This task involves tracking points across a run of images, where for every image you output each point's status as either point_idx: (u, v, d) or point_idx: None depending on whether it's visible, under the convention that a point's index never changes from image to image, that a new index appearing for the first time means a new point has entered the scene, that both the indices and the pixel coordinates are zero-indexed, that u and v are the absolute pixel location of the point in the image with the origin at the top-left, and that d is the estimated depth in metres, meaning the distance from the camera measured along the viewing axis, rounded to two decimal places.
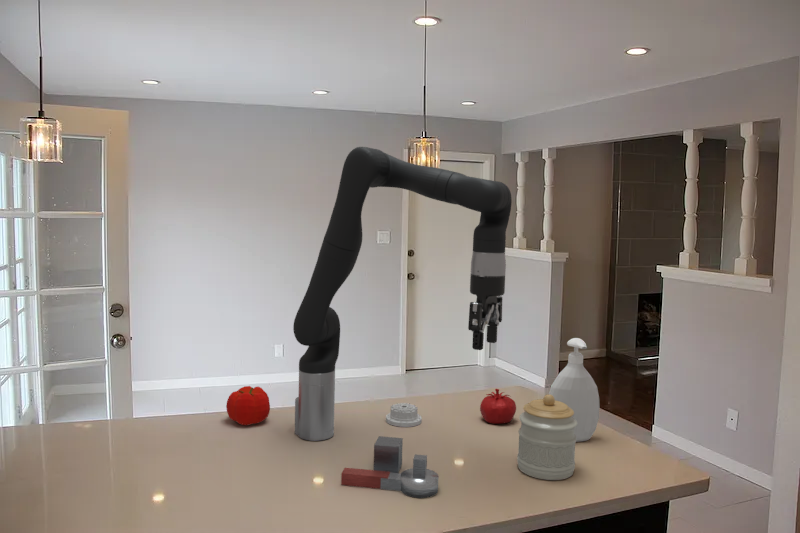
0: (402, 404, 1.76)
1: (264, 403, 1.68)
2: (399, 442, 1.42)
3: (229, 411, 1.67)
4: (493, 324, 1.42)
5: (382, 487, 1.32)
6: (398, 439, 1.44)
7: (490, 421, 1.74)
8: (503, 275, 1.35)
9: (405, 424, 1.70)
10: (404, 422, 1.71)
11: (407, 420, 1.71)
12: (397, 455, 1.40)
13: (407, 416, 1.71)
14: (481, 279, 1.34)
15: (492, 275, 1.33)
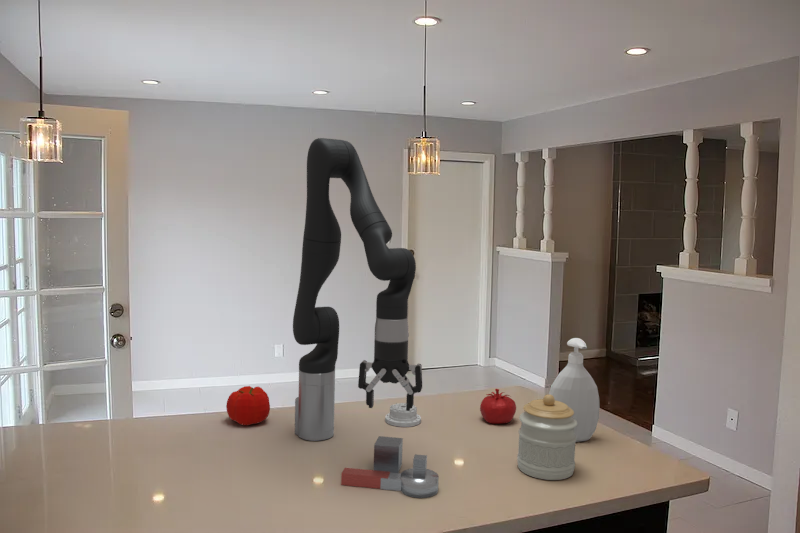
0: (401, 404, 1.76)
1: (264, 403, 1.68)
2: (399, 442, 1.42)
3: (229, 411, 1.67)
4: (372, 388, 1.42)
5: (382, 487, 1.32)
6: (398, 439, 1.44)
7: (490, 421, 1.74)
8: None
9: (404, 424, 1.70)
10: (403, 422, 1.71)
11: (406, 420, 1.71)
12: (397, 455, 1.40)
13: (406, 416, 1.71)
14: (407, 343, 1.40)
15: None
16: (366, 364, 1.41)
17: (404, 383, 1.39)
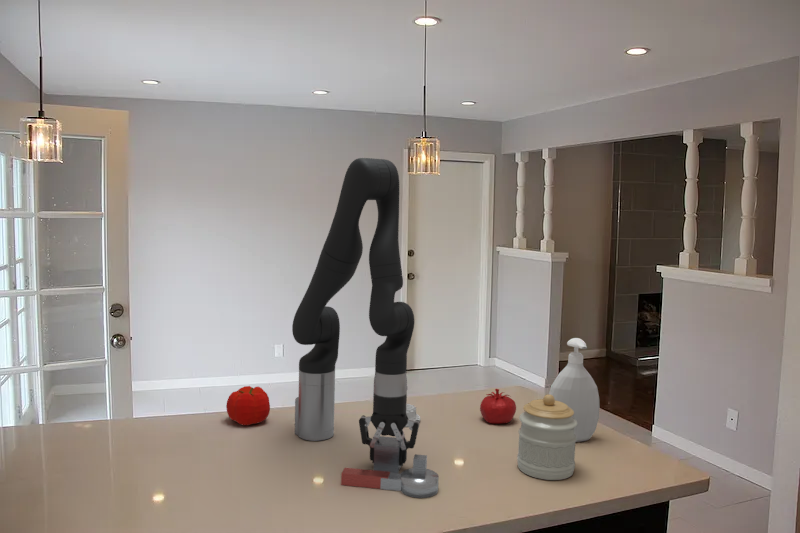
0: None
1: (264, 403, 1.68)
2: None
3: (229, 411, 1.67)
4: None
5: (382, 487, 1.32)
6: None
7: (490, 421, 1.74)
8: None
9: None
10: None
11: None
12: (397, 455, 1.40)
13: None
14: (406, 397, 1.41)
15: None
16: (365, 419, 1.42)
17: (399, 438, 1.40)
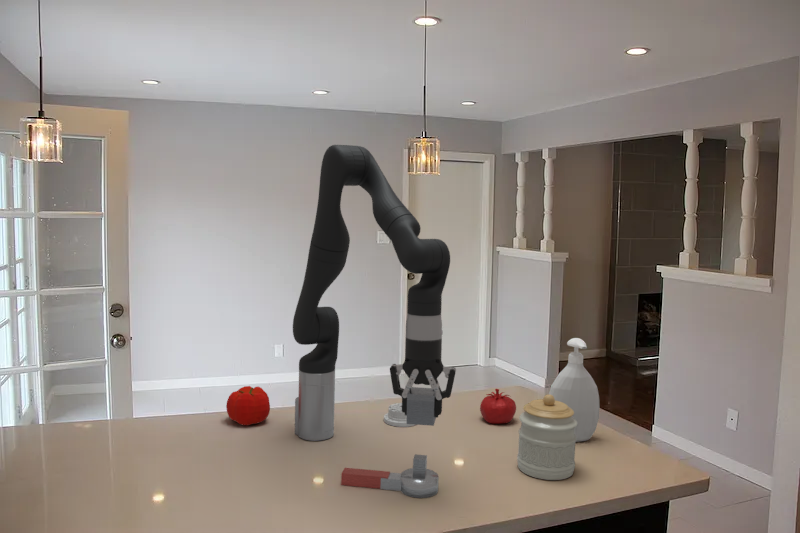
0: (400, 404, 1.76)
1: (264, 403, 1.68)
2: None
3: (229, 411, 1.67)
4: None
5: (382, 487, 1.32)
6: None
7: (490, 421, 1.74)
8: None
9: (403, 424, 1.70)
10: (402, 422, 1.71)
11: (405, 420, 1.71)
12: (432, 405, 1.28)
13: (405, 416, 1.71)
14: (441, 341, 1.29)
15: None
16: (396, 367, 1.31)
17: (435, 387, 1.29)
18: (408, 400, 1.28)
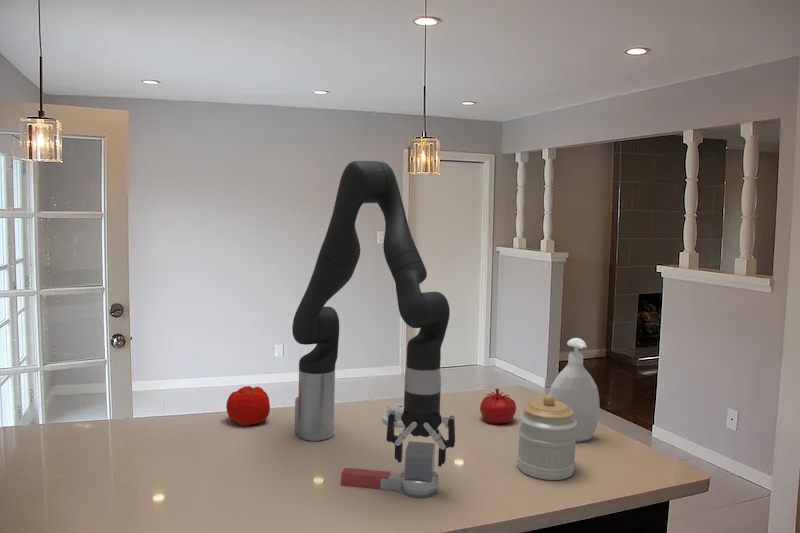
0: (399, 404, 1.76)
1: (264, 403, 1.68)
2: (432, 448, 1.31)
3: (229, 411, 1.67)
4: None
5: (382, 487, 1.32)
6: (430, 444, 1.33)
7: (490, 421, 1.74)
8: None
9: (401, 424, 1.70)
10: (400, 422, 1.71)
11: None
12: (430, 462, 1.29)
13: None
14: None
15: None
16: (395, 416, 1.32)
17: (436, 437, 1.29)
18: (406, 457, 1.30)
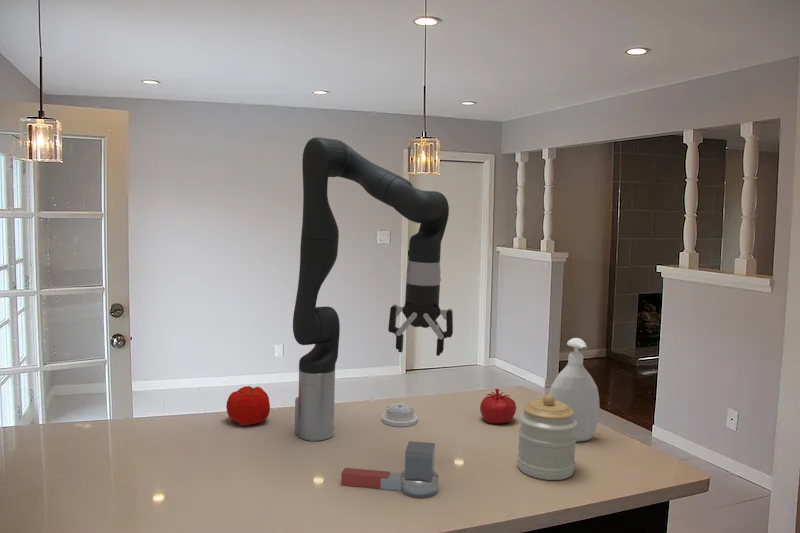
0: (398, 404, 1.76)
1: (264, 403, 1.68)
2: (432, 448, 1.31)
3: (229, 411, 1.67)
4: (402, 333, 1.41)
5: (382, 487, 1.32)
6: (430, 444, 1.33)
7: (490, 421, 1.74)
8: None
9: (401, 424, 1.70)
10: (400, 422, 1.71)
11: (403, 420, 1.71)
12: (430, 462, 1.29)
13: (403, 416, 1.71)
14: (439, 287, 1.39)
15: None
16: (397, 308, 1.40)
17: (435, 327, 1.38)
18: (406, 457, 1.30)
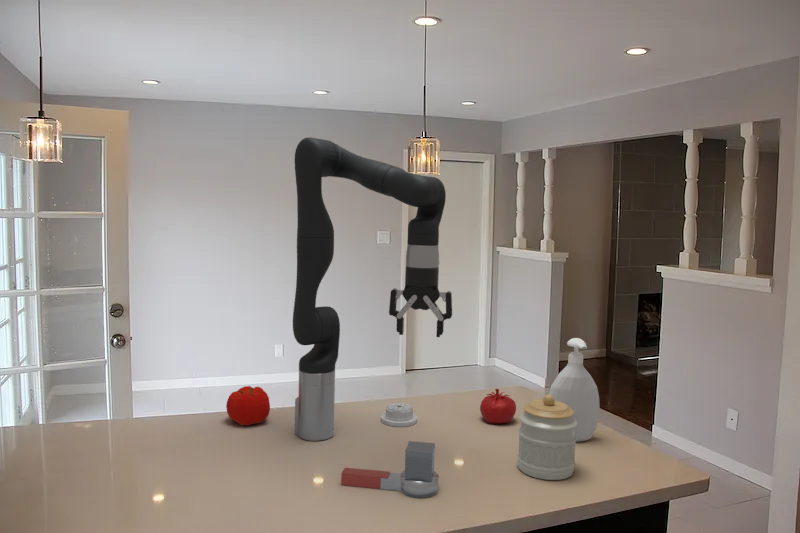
0: (397, 404, 1.76)
1: (264, 403, 1.68)
2: (432, 448, 1.31)
3: (229, 411, 1.67)
4: (402, 316, 1.44)
5: (382, 487, 1.32)
6: (430, 444, 1.33)
7: (490, 421, 1.74)
8: None
9: (400, 424, 1.70)
10: (399, 422, 1.71)
11: (402, 420, 1.71)
12: (430, 462, 1.29)
13: (402, 416, 1.71)
14: (438, 270, 1.42)
15: None
16: (397, 291, 1.43)
17: (435, 309, 1.41)
18: (406, 457, 1.30)
